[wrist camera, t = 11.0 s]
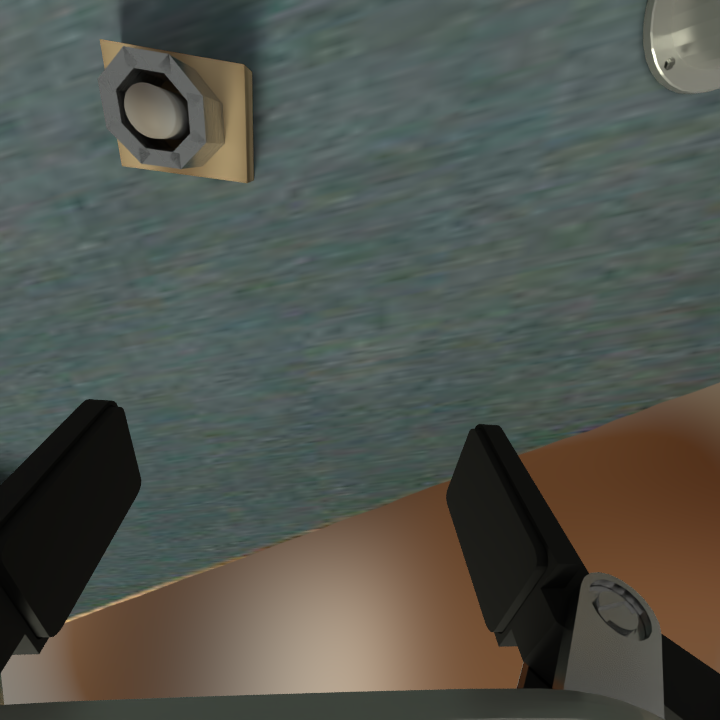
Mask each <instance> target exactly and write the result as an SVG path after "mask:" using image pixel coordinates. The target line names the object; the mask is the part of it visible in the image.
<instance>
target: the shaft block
mask: <svg viewBox="0 0 720 720" xmlns="http://www.w3.org/2000/svg"><path fill="white" fill-rule="evenodd" d="M100 44H101V49H102V55H103V61H104V66H105V69H106V67H107V66H108V65H109V64H110V62H111V61H112V60H113V58H114V57H115V56H116V55H117V53H118V52H119V51H120V50H121V48H122V47H123V46H126V47H132V48H137V49H143V50H149V51H155V52H160V53H166V54H170V55H172V56H173V57H175V58H177V59H179V60H180V61H182V62H184V63H185V64H187V65H189V66H191V67H192V68H194V69H196V71H197V72H198V73H199V75H200V76H201V77H202V79H203V80H204V81H205V82H206V84H207V85H208V86H209V87H210V89H211V90H212V91H213V92H214V94H215V95H216V96H217V97H218V99H219V100H220V101H221V102H222V104H223V117H224V138H225V144H224V145H223V146H222V147H221V148H220V149H219V150H218V151H217V152H216V153H215V154H214V155H213V156H212V157H211V158H210V159H209V160H208V161H207V162H206V163H205V165H204V166H202V167H195V168H187V169H176V168H169V167H162V166H155V165H147V164H141V163H140V162H139V161H138V160H137V159H136V158H135V157H134V156H133V155H132V154H131V152H130V151H129V150H128V149H127V148H126V147H125V146H124V145H123V144H122V143H121V142H120V141H119V140H118V139H117V140H118V145H119V151H120V157H121V162H122V166H126V167H134V168H141V169H148V170H156V171H163V172H170V173H178V174H185V175H192V176H200V177H207V178H214V179H221V180H229V181H236V182H243V183H248V182H251V181H253V180H254V166H253V100H252V72H251V71H250V70H249V69H248V68H247V67H246V66H245V65H244V64H238V63H232V62H227V61H221V60H215V59H210V58H204V57H198V56H193V55H187V54H181V53H176V52H170V51H164V50H159V49H153V48H147V47H142V46H136V45H130V44H124V43H119V42H113V41H107V40H102V39H100ZM124 107H125V112H126V115H127V117H128V119H129V121H130V122H131V124H132V125H133V126H134V128H135V129H136V130H137V131H139V132H140V133H141V134H143V135H145V136H147V137H150V138H158V139H165V140H166V141H167V142H168V143H169V145H170V146H171V147H172V148H174V149H176V148H177V147H178V146H179V145H180V144H181V143H182V142H183V141H184V140H185V139H186V138H187V136H188V135H189V134H190V124H189V113H188V102H187V100H186V99H185V98H184V96H183V95H182V94H181V93H180V92H179V90H178V89H177V88H176V87H175V86H174V84H173V83H172V82H169V81H165V82H164V83H163V84H162V85H161V87H157V86H154V85H151V84H149V83H143V82H141V83H136V84H133V85H132V86H131V87H130V88H129V89H128V90H127V92H126V94H125V99H124Z"/></svg>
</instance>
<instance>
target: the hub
mask: <svg viewBox="0 0 720 720" xmlns="http://www.w3.org/2000/svg"><path fill="white" fill-rule="evenodd" d="M165 81H169V82H172V83H173V84H174V86H175V87H176V88H177V89H178V90H179V92H180V93H181V94H182V95H183V96H184V98H185V99H186V100H187V102H188V113H189V124H190V134H189V135H188V136H187V138H186V139H185V140H184V141H183V142H182V143H181V144H180V145H179V146H178V147H177V148H176V149H174V148H172V147H171V146H170V145H169V143H168V142H167V141H166V140H165V139H158V138H150V137H147V136H145V135H143V134H141V133H140V132H139V131H137V130H136V129H135V128H134V126H133V125H132V124H131V122H130V121H129V119H128V117H127V115H126V112H125V107H124V99H125V94H126V92H127V90H128V89H129V88H130V87H131V86H132V85H133V84H136V83H141V82H143V83H149V84H151V85H154V86H157V87H161V85H162V84H163V83H164V82H165ZM98 84H99V89H100V94H101V100H102V105H103V110H104V116H105V121H106V126H107V129H108V130H109V131H110V132H111V133H112V134H113V135H114V136H115V137H116V138H117V139H118V140H119V141H120V142H121V143H122V144H123V145H124V146H125V147H126V148H127V149H128V150H129V151H130V152H131V154H132V155H133V156H134V157H135V158H136V159H137V160H138V161H139V162H140V163H141V164H147V165H155V166H162V167H169V168H176V169H187V168H195V167H202V166H204V165H205V163H206V162H207V161H208V160H209V159H210V158H211V157H212V156H213V155H214V154H215V153H216V152H217V151H218V150H219V149H220V148H221V147H222V146H223V145H224V144H225V138H224V117H223V104H222V102H221V101H220V100H219V99H218V97H217V96H216V95H215V94H214V92H213V91H212V90H211V89H210V87H209V86H208V85H207V84H206V82H205V81H204V80H203V79H202V77H201V76H200V75H199V73H198V72H197V71H196V69H194V68H192V67H191V66H189V65H187V64H185V63H184V62H182V61H180V60H179V59H177V58H175V57H173V56H172V55H170V54H166V53H160V52H155V51H149V50H143V49H137V48H132V47H126V46H123V47H122V48H121V50H120V51H119V52H118V53H117V55H116V56H115V57H114V58H113V60H112V61H111V62H110V64H109V65H108V66H107V67H106V69H105V70H104V71H103V72H102V74H101V75H100V76H99V78H98Z"/></svg>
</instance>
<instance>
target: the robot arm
mask: <svg viewBox="0 0 720 720" xmlns="http://www.w3.org/2000/svg"><path fill="white" fill-rule="evenodd" d="M643 46H644V52H645V58H646V61H647V64H648V66H649V69H650V71H651V73H652V74H653V76H654V77H655V78H656V80H657V81H658V82H659V83H660V84H661V85H663V86H664V87H665V88H667V89H668V90H671V91H674V92H677V93H681V94H696V93H703V92H709V91H712V90H715V89H719V88H720V0H648V2H647V6H646V11H645V18H644V24H643ZM140 486H141V477H140V473H139V469H138V465H137V461H136V456H135V452H134V448H133V444H132V440H131V436H130V432H129V428H128V424H127V420H126V416H125V412H124V409H123V408H122V407H118V406H117V403H116V402H115V401H108V400H93V399H88V400H85V401H84V402H83V403H82V404H81V405H80V406H79V407H78V408H77V409H76V410H75V411H74V412H73V413H72V414H71V415H70V416H69V417H68V418H67V419H66V420H65V421H64V422H63V423H62V424H61V425H60V426H59V427H58V428H57V429H56V430H55V431H54V432H53V433H52V434H51V435H50V436H49V437H48V438H47V439H46V440H45V441H44V442H43V443H42V444H41V445H40V446H39V447H38V448H37V449H36V450H35V451H34V452H33V453H32V454H31V455H30V456H29V457H28V458H27V459H26V460H25V461H24V462H23V463H22V464H21V465H20V466H19V467H18V468H17V469H16V470H15V471H14V472H13V473H12V474H11V475H10V476H9V477H8V478H7V479H6V480H5V481H4V482H3V483H2V484H1V485H0V720H720V674H719V673H717V672H716V671H715V670H713V669H712V668H710V667H709V666H708V665H706V664H704V663H703V662H702V661H700V660H699V659H697V658H696V657H695V656H693V655H691V654H690V653H689V652H687V651H685V650H684V649H683V648H681V647H680V646H679V645H677V644H675V643H674V642H673V641H671V640H670V639H668V638H667V637H666V636H664V635H663V634H661V630H660V626H659V622H658V620H657V618H656V616H655V614H654V612H653V610H652V609H651V608H650V607H649V605H648V604H647V603H646V601H645V600H644V599H643V598H642V597H641V596H640V595H639V594H638V593H637V592H636V591H635V590H634V589H633V588H632V587H630V586H629V585H627V584H626V583H624V582H623V581H621V580H620V579H618V578H616V577H614V576H611V575H609V574H605V573H599V572H598V573H590V574H589V573H588V571H587V569H586V568H585V566H584V564H583V563H582V561H581V559H580V558H579V556H578V554H577V553H576V551H575V549H574V548H573V546H572V544H571V543H570V541H569V540H568V538H567V536H566V534H565V533H564V531H563V529H562V528H561V526H560V524H559V523H558V521H557V519H556V518H555V516H554V515H553V513H552V511H551V509H550V508H549V506H548V505H547V503H546V501H545V500H544V498H543V496H542V495H541V493H540V491H539V490H538V488H537V486H536V485H535V483H534V481H533V480H532V478H531V477H530V475H529V473H528V471H527V470H526V468H525V467H524V465H523V463H522V462H521V460H520V458H519V457H518V455H517V453H516V451H515V450H514V448H513V447H512V445H511V443H510V442H509V440H508V438H507V437H506V435H505V433H504V432H503V430H502V428H501V427H500V426H498V425H485V424H478V425H477V426H476V427H475V429H471V430H470V431H469V434H468V436H467V439H466V442H465V444H464V447H463V450H462V452H461V455H460V458H459V460H458V463H457V466H456V468H455V471H454V474H453V476H452V479H451V482H450V484H449V487H448V490H447V495H446V499H447V505H448V508H449V511H450V514H451V517H452V520H453V523H454V526H455V530H456V533H457V536H458V539H459V542H460V545H461V548H462V551H463V555H464V558H465V561H466V564H467V567H468V570H469V573H470V576H471V580H472V583H473V586H474V589H475V592H476V595H477V598H478V601H479V604H480V608H481V611H482V614H483V617H484V620H485V623H486V626H487V627H488V629H489V630H490V631H491V632H494V633H495V636H496V639H497V642H498V645H499V646H518V649H519V651H520V654H521V657H522V659H523V661H524V662H523V666H522V670H521V674H520V677H519V681H518V685H517V689H446V690H410V691H409V690H408V691H372V692H371V691H370V692H335V693H305V694H304V693H303V694H272V695H271V694H270V695H240V696H211V697H210V696H208V697H183V698H182V697H180V698H154V699H153V698H152V699H126V700H100V701H99V700H98V701H71V702H49V703H31V704H14V705H13V704H12V705H4V699H3V689H2V681H1V671H2V670H3V668H4V667H5V665H6V664H7V662H8V660H9V659H10V657H11V656H12V655H15V654H17V655H21V654H40V652H41V650H42V649H43V647H44V645H45V643H46V642H47V640H48V638H49V637H54V636H55V635H56V634H57V633H58V632H59V631H60V630H61V628H62V627H63V625H64V623H65V621H66V620H67V618H68V616H69V614H70V613H71V611H72V609H73V607H74V606H75V604H76V602H77V600H78V599H79V597H80V595H81V593H82V591H83V590H84V588H85V586H86V584H87V583H88V581H89V579H90V577H91V576H92V574H93V572H94V570H95V569H96V567H97V565H98V563H99V562H100V560H101V558H102V556H103V554H104V553H105V551H106V549H107V547H108V546H109V544H110V542H111V540H112V539H113V537H114V535H115V533H116V532H117V530H118V528H119V526H120V524H121V523H122V521H123V519H124V517H125V516H126V514H127V512H128V510H129V509H130V507H131V505H132V503H133V502H134V500H135V498H136V496H137V494H138V492H139V490H140Z"/></svg>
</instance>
